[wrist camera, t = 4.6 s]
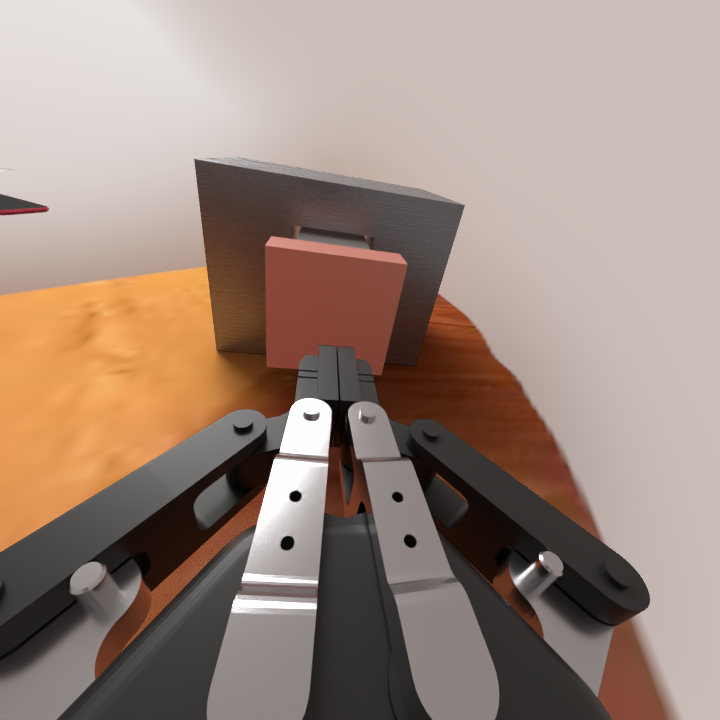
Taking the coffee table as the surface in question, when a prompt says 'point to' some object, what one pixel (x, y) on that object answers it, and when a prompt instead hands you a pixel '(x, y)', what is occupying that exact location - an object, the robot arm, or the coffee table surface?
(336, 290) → the plug
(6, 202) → the smartphone
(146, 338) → the coffee table surface
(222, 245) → the block
